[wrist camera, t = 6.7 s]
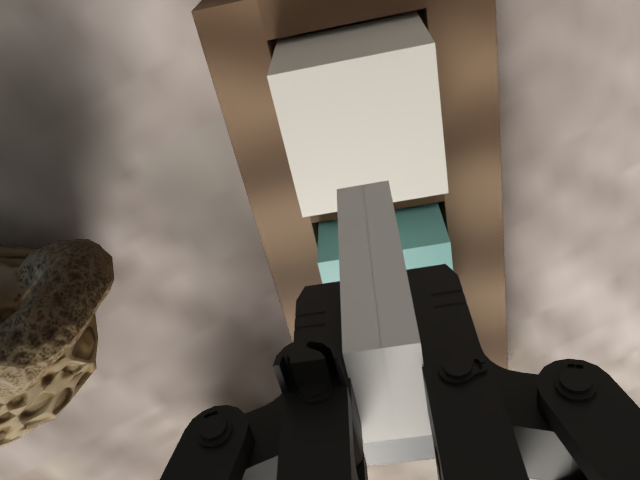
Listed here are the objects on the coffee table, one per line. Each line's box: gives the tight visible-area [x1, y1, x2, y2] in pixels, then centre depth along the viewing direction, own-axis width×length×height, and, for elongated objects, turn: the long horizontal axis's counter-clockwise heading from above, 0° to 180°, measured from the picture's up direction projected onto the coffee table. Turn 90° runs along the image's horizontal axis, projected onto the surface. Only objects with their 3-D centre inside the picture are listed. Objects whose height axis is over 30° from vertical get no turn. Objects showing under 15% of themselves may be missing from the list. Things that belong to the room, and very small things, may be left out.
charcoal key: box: [362, 435, 436, 466], centre depth 34 cm, size 6×6×5 cm
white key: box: [267, 12, 449, 217], centre depth 24 cm, size 6×6×5 cm
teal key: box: [317, 202, 453, 283], centre depth 30 cm, size 6×6×5 cm
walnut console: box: [191, 0, 508, 370], centre depth 32 cm, size 28×12×4 cm, turn 11°
